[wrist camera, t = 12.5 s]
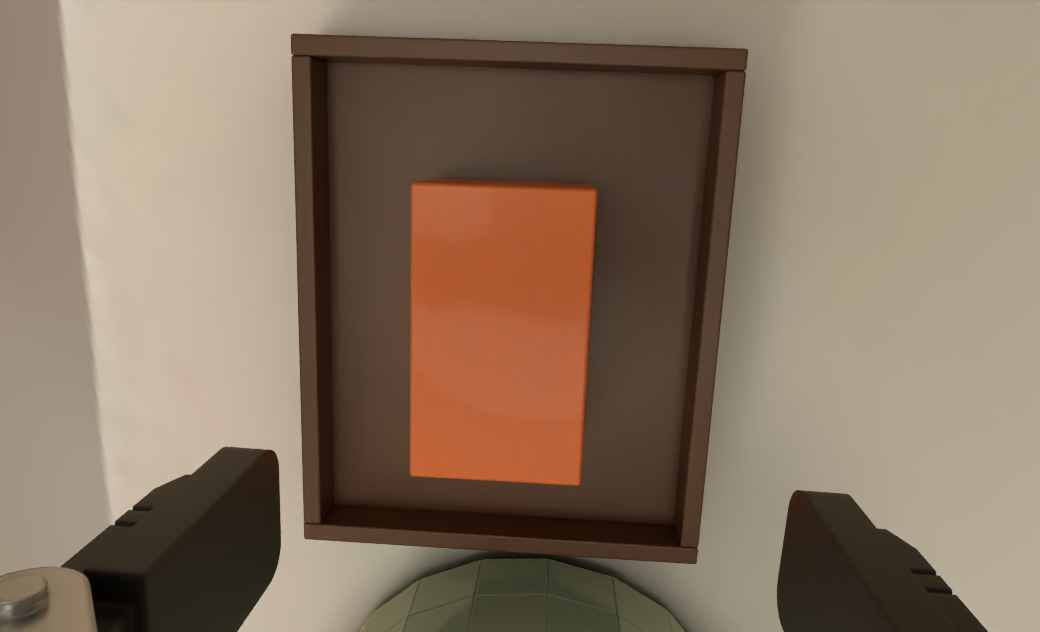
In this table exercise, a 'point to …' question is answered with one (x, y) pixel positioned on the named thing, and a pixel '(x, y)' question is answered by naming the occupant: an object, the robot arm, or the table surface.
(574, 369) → the block
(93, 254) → the table surface
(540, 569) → the bowl
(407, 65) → the tray
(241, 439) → the table surface
